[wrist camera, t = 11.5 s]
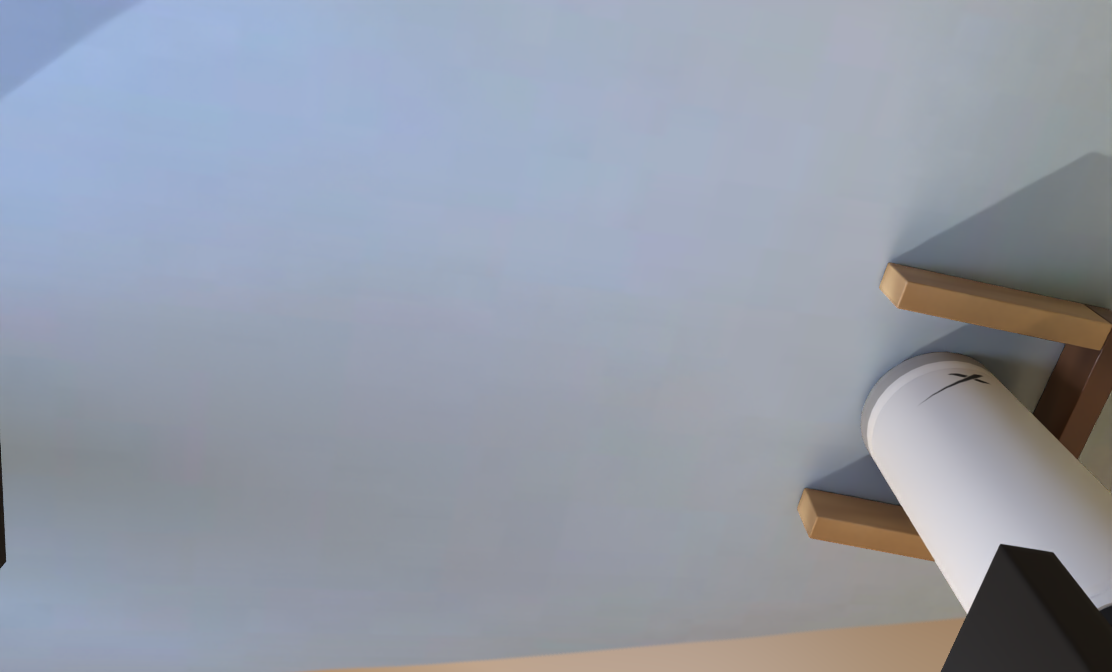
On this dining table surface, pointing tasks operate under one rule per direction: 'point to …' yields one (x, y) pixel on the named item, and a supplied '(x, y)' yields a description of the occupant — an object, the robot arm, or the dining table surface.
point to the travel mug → (984, 475)
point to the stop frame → (1064, 410)
